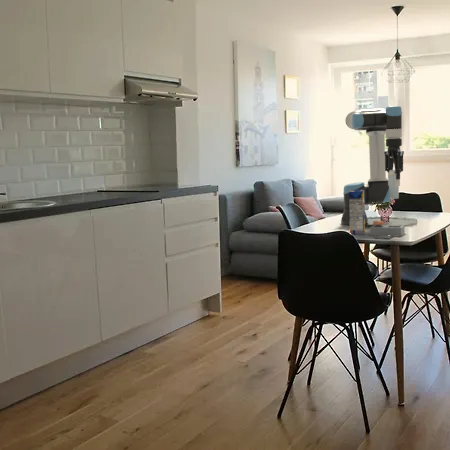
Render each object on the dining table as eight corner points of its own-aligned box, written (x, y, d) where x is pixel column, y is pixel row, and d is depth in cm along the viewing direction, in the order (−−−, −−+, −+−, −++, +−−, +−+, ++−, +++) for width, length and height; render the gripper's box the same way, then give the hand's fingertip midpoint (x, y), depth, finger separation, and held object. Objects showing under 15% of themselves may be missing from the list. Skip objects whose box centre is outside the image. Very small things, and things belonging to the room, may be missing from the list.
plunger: (372, 232, 300) (372, 221, 299) (374, 231, 304) (374, 220, 304) (382, 233, 298) (381, 222, 297) (384, 231, 302) (384, 220, 301)
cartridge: (392, 199, 292) (392, 170, 290) (387, 198, 297) (387, 170, 295) (400, 198, 294) (400, 169, 292) (395, 197, 298) (395, 169, 296)
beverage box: (349, 234, 303) (348, 191, 300) (351, 231, 313) (351, 189, 311) (363, 234, 301) (362, 191, 298) (365, 231, 311) (364, 189, 308)
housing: (370, 235, 299) (370, 227, 298) (374, 232, 307) (374, 224, 306) (400, 236, 292) (400, 228, 291) (404, 233, 300) (404, 225, 299)
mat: (373, 238, 288) (373, 237, 288) (376, 236, 294) (376, 235, 294) (390, 239, 284) (390, 237, 284) (393, 236, 290) (393, 235, 290)
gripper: (411, 137, 284) (411, 186, 287) (390, 138, 301) (390, 184, 304) (397, 138, 282) (397, 187, 285) (377, 138, 298) (377, 185, 302)
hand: (394, 185), depth 294 cm, fingers closed on cartridge, 4 cm apart
